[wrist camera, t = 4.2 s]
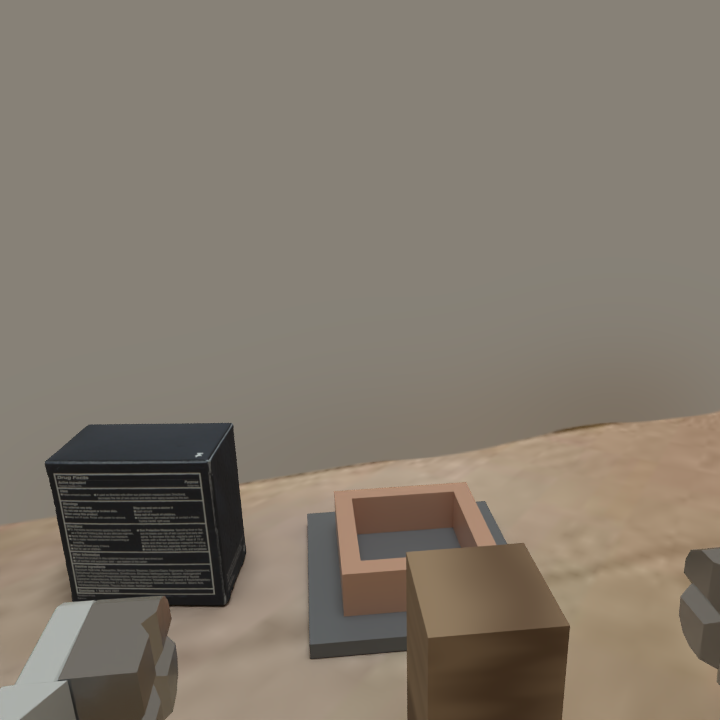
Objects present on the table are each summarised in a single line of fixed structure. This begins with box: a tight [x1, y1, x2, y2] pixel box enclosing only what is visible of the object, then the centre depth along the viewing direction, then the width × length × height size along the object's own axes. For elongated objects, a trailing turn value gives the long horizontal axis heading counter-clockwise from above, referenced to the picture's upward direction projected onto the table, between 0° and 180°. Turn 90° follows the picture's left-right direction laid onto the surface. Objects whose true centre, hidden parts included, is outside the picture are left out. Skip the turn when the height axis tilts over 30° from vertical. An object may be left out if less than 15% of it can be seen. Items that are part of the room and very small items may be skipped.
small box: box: [45, 423, 246, 605], centre depth 44 cm, size 11×6×10 cm, turn 87°
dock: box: [307, 482, 507, 659], centre depth 44 cm, size 14×14×4 cm
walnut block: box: [406, 543, 570, 720], centre depth 27 cm, size 5×5×12 cm
